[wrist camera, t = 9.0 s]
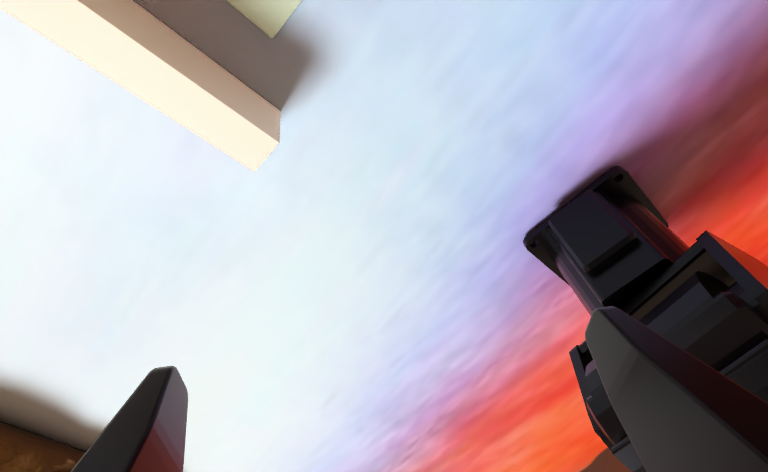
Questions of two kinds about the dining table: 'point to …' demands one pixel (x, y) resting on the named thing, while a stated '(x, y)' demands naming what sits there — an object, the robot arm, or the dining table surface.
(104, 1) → the arena
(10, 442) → the bread
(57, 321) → the dining table surface
